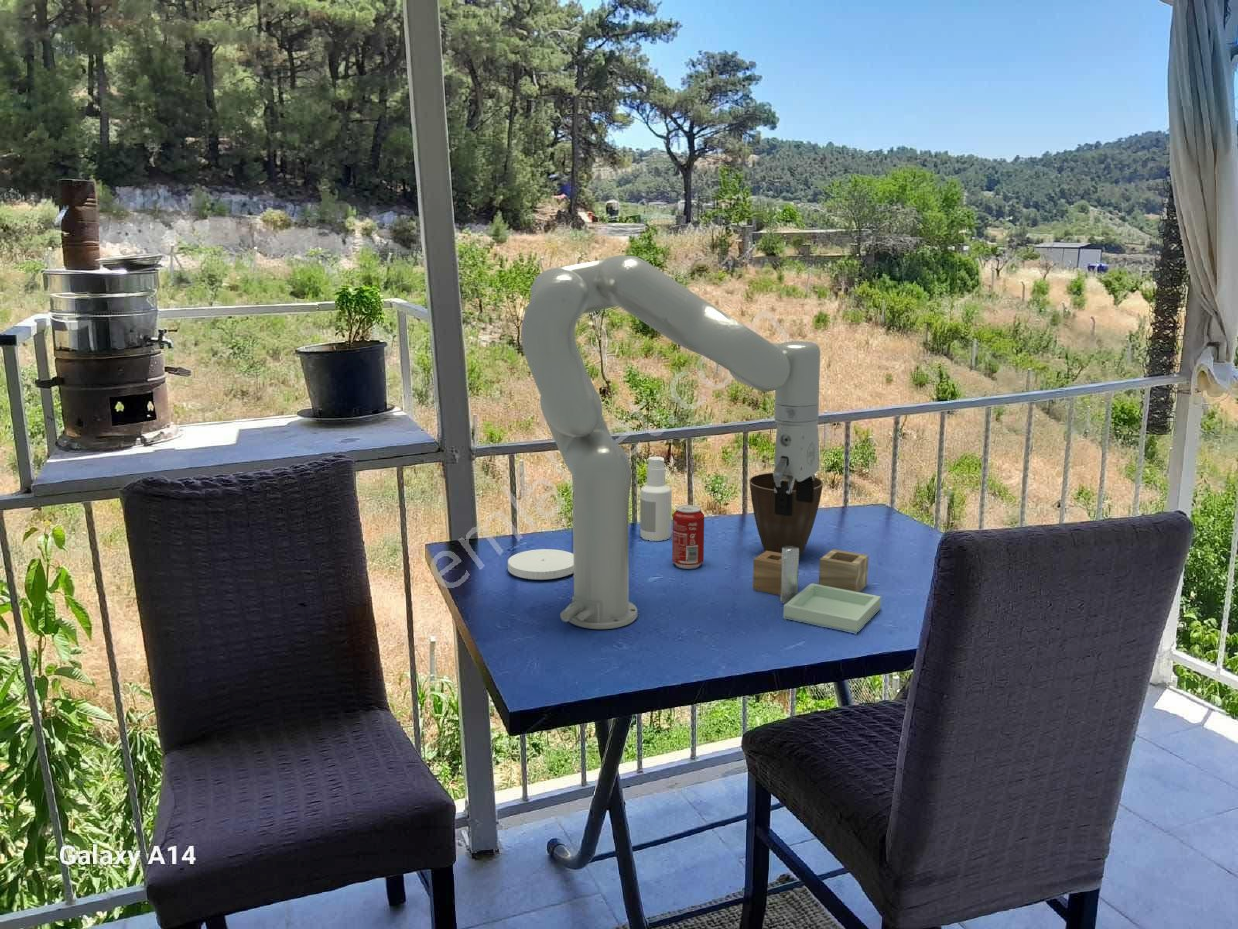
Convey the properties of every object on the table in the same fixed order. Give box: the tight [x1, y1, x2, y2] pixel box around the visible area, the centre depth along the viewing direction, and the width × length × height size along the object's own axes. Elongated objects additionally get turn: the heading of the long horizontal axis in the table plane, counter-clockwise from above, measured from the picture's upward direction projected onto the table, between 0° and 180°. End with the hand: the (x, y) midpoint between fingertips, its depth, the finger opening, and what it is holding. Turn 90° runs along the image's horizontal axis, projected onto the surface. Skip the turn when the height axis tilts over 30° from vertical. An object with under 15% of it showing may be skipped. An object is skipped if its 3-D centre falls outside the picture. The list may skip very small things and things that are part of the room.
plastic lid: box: [507, 548, 574, 580], centre depth 189 cm, size 14×14×2 cm
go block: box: [818, 548, 869, 593], centre depth 179 cm, size 7×7×6 cm
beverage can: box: [671, 504, 705, 570], centre depth 191 cm, size 6×6×12 cm
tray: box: [782, 582, 882, 633], centre depth 166 cm, size 13×13×2 cm
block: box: [752, 551, 782, 596], centre depth 178 cm, size 6×6×6 cm
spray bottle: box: [639, 456, 672, 542], centre depth 209 cm, size 7×7×18 cm
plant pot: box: [749, 472, 824, 559], centre depth 196 cm, size 15×15×16 cm
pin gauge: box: [779, 546, 800, 604], centre depth 171 cm, size 3×3×10 cm
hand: (794, 508), depth 169 cm, fingers open, 9 cm apart
